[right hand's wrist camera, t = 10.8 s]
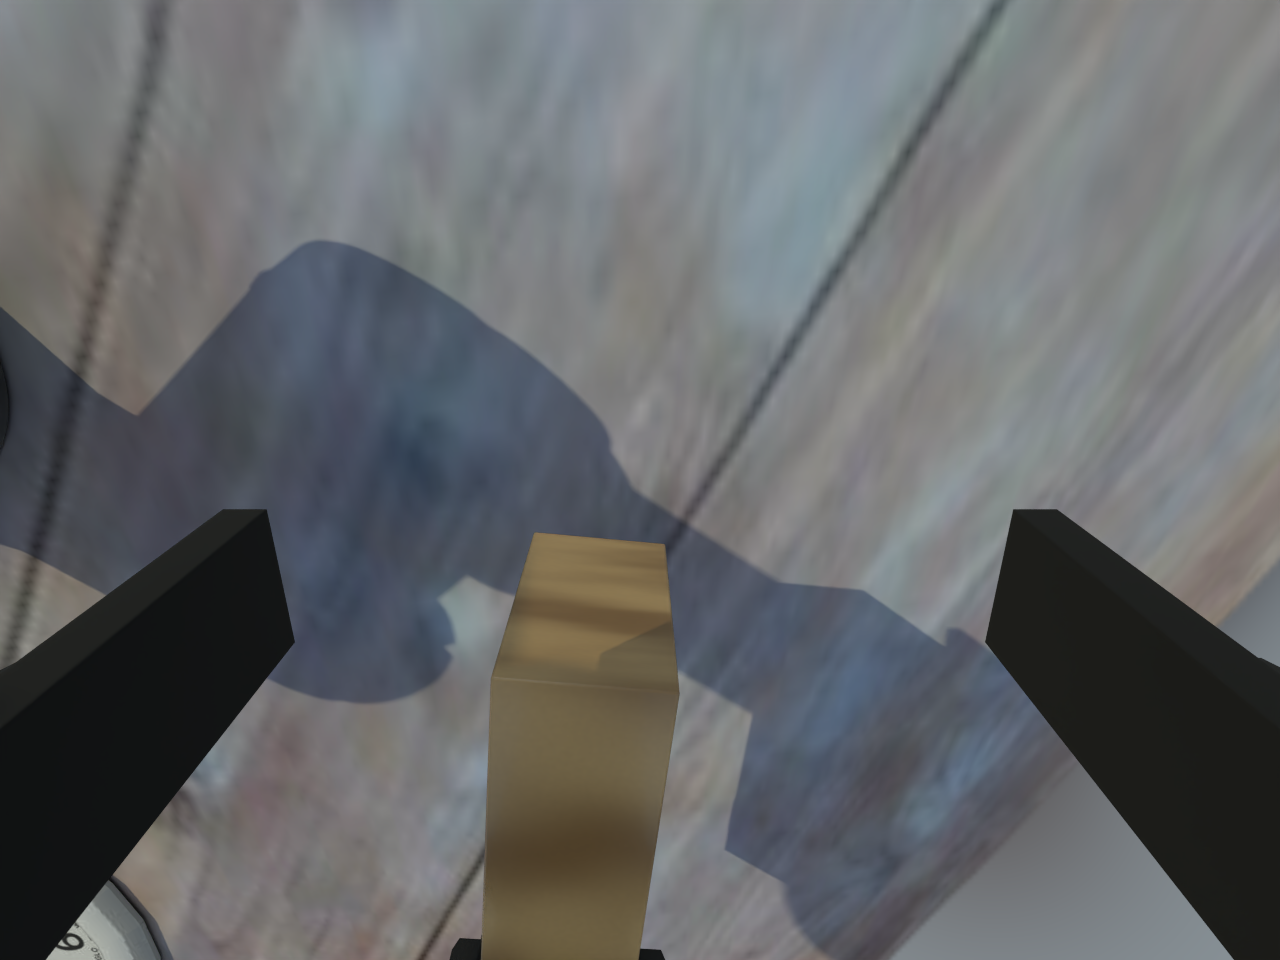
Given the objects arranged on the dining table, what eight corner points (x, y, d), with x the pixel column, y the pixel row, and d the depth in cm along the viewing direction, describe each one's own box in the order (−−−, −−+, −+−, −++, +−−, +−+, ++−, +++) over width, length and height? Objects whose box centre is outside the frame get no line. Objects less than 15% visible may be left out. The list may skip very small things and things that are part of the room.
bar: (533, 531, 27) (490, 678, 19) (665, 543, 27) (680, 693, 19) (511, 923, 35) (474, 1148, 27) (614, 929, 35) (608, 1155, 27)
